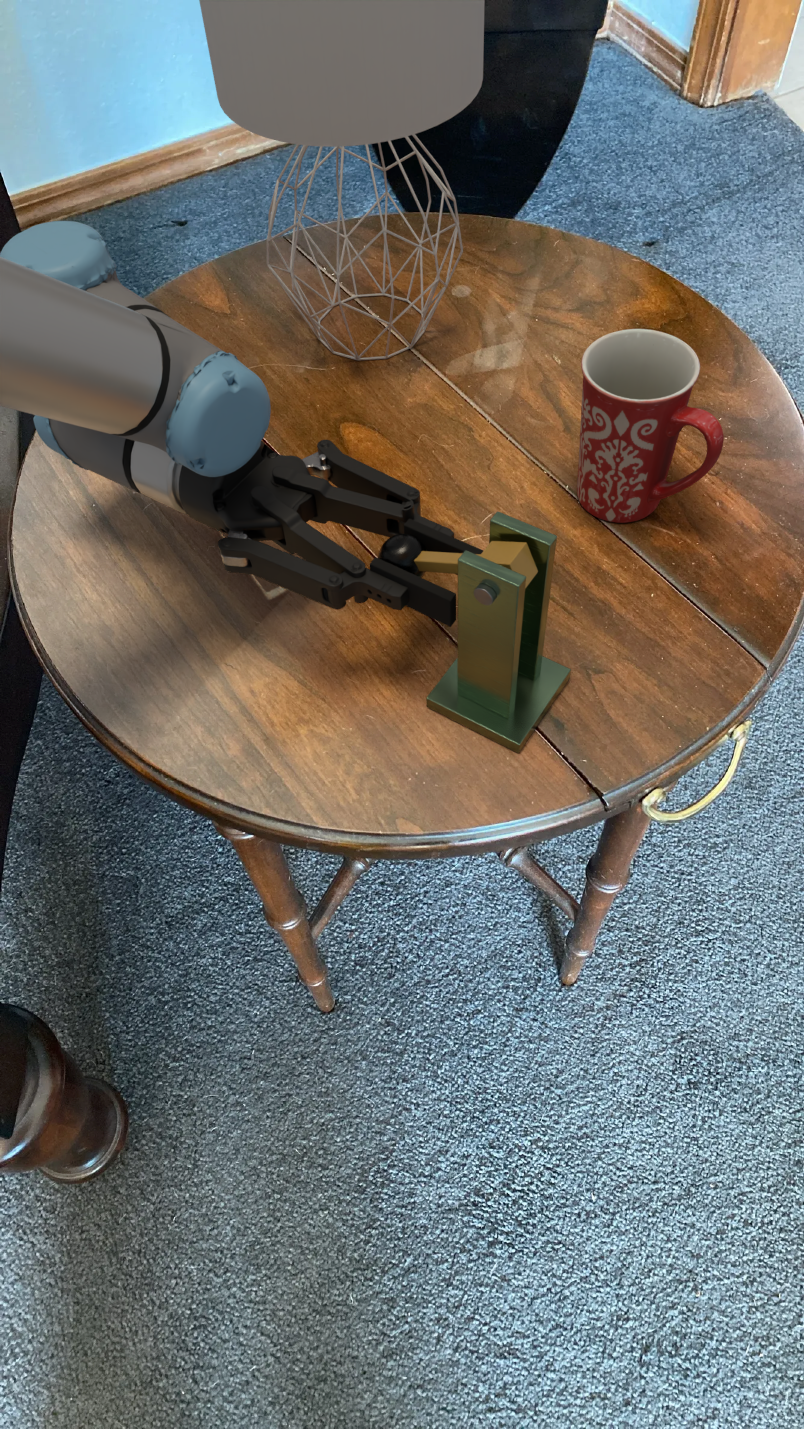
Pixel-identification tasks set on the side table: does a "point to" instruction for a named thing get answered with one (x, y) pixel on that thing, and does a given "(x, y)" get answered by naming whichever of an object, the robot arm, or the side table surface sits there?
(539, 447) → the side table surface
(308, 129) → the table lamp
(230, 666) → the side table surface
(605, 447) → the mug
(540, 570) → the switch bracket
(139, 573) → the side table surface
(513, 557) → the switch lever
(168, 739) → the side table surface
